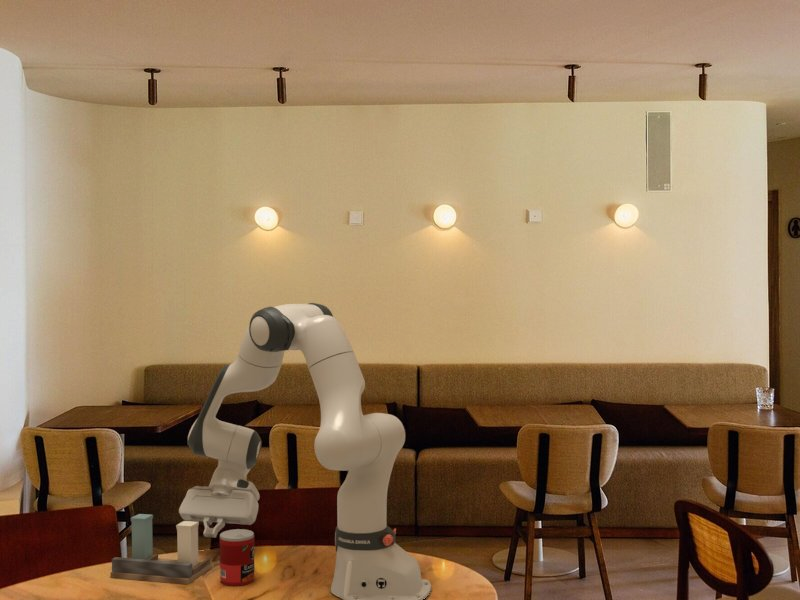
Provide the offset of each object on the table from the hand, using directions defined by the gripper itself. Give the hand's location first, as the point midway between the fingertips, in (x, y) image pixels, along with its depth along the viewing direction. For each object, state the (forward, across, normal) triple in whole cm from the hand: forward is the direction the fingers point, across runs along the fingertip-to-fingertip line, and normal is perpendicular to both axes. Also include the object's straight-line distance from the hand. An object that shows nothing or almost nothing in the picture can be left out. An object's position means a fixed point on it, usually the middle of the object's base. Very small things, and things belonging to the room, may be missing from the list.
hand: (209, 536), depth 212 cm
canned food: (+13, +13, -4) cm, 19 cm away
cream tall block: (+11, 0, -5) cm, 12 cm away
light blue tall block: (+9, -14, -2) cm, 17 cm away
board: (+12, -7, -4) cm, 14 cm away
